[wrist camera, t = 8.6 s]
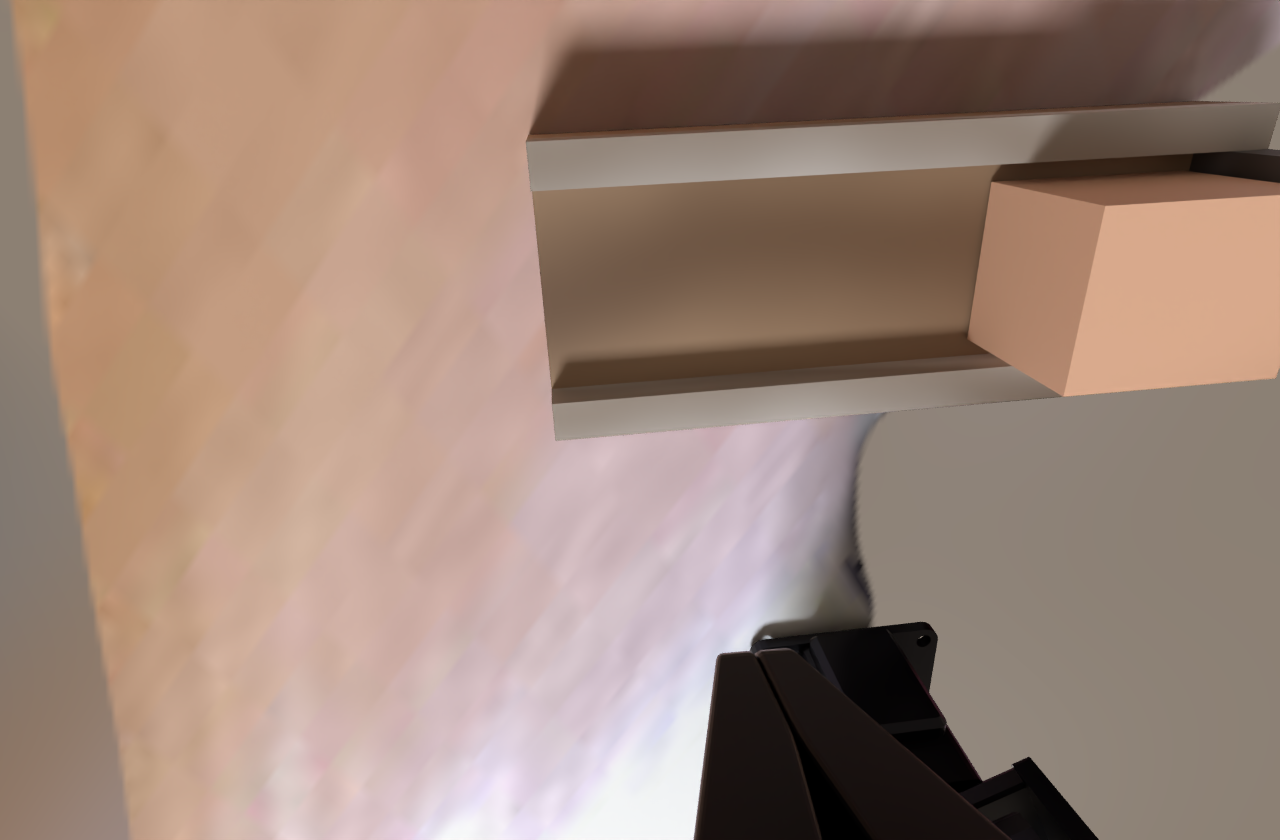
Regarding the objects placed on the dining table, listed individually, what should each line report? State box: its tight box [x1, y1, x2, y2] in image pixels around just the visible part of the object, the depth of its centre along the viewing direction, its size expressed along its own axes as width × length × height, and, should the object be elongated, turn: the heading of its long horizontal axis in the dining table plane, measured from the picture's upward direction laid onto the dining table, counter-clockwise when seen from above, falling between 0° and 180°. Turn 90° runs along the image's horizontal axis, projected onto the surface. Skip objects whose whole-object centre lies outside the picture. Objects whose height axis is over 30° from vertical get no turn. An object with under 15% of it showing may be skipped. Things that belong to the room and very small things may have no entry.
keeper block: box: [967, 170, 1280, 397], centre depth 17 cm, size 4×5×4 cm
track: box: [526, 101, 1280, 441], centre depth 18 cm, size 7×17×4 cm, turn 92°
